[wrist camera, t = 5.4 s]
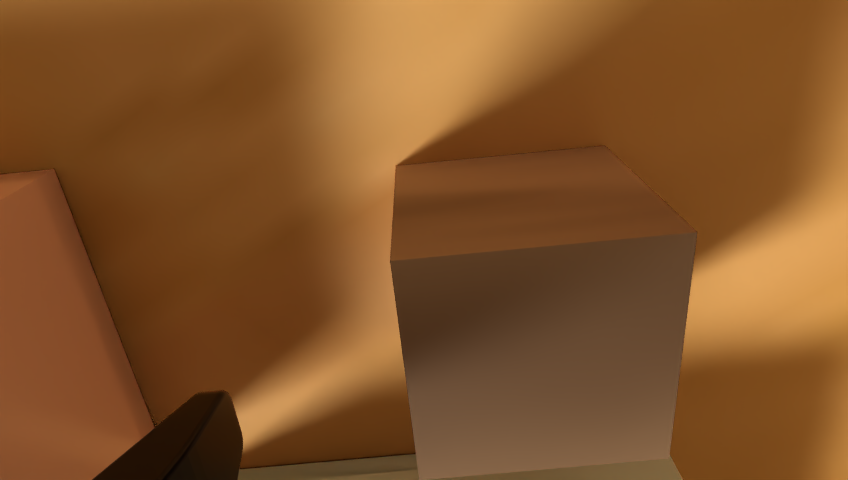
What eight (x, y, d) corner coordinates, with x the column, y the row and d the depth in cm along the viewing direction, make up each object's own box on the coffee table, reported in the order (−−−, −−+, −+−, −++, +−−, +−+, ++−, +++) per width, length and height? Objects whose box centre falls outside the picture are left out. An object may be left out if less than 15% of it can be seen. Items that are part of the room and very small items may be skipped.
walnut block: (595, 318, 13) (669, 458, 9) (416, 335, 13) (419, 480, 9) (603, 143, 11) (697, 232, 8) (395, 164, 11) (389, 261, 8)
